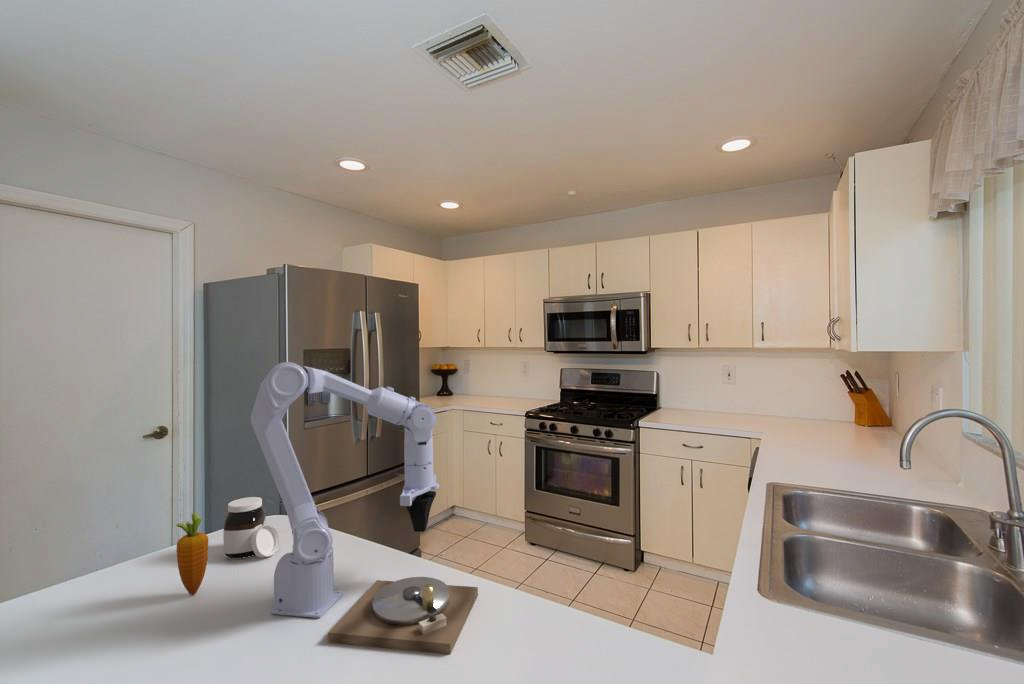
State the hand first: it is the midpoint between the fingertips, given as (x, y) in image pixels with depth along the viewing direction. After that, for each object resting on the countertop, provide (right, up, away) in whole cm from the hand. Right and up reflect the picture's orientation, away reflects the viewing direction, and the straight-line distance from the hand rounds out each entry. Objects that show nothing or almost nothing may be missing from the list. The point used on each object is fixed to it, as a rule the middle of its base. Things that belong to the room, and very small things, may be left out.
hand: (420, 530), depth 92 cm
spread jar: (-41, -11, +13) cm, 44 cm away
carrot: (-42, -11, -5) cm, 44 cm away
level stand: (+1, -9, -14) cm, 16 cm away
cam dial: (+1, -7, -12) cm, 15 cm away
